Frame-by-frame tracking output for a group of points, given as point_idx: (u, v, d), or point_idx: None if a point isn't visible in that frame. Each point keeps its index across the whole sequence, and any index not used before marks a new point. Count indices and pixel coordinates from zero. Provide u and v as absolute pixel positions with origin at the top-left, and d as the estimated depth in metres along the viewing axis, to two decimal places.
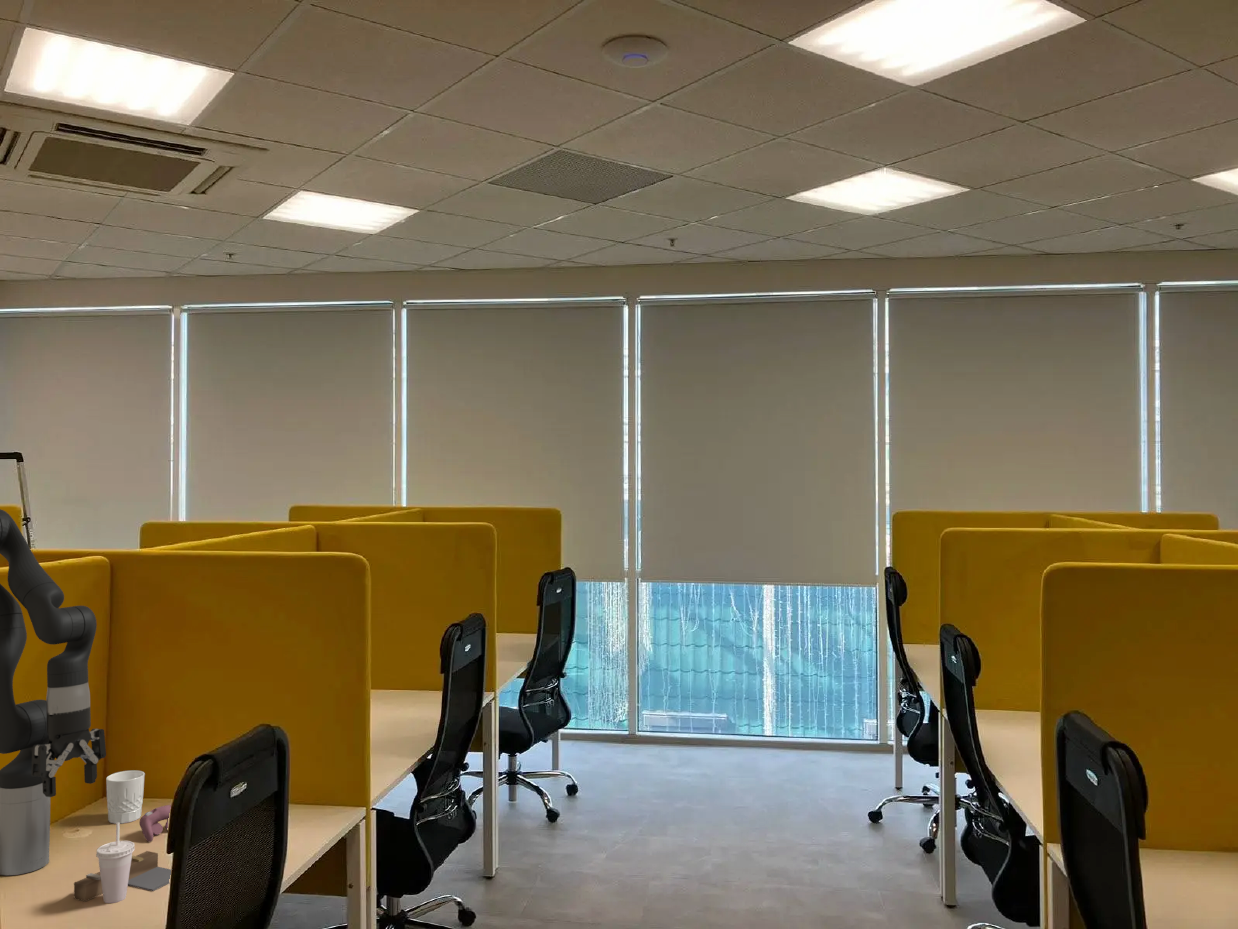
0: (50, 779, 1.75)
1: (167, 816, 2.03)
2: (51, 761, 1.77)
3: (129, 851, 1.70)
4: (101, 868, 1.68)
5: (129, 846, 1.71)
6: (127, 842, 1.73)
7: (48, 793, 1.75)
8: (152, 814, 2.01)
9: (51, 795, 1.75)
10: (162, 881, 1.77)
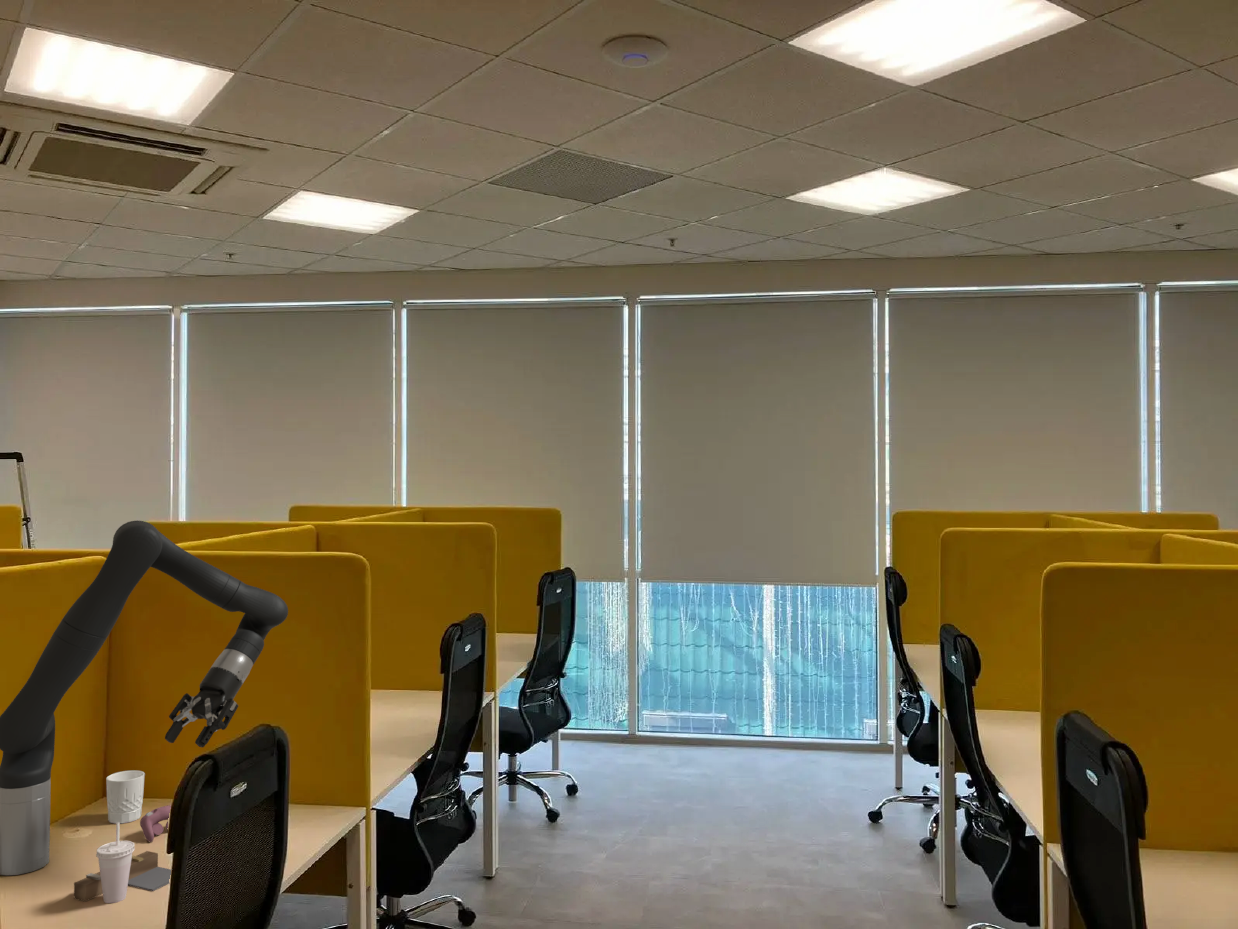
0: None
1: (168, 816, 2.03)
2: (215, 716, 1.88)
3: (129, 851, 1.70)
4: (101, 868, 1.68)
5: (129, 846, 1.71)
6: (127, 842, 1.73)
7: (205, 743, 1.84)
8: (153, 814, 2.00)
9: (203, 746, 1.84)
10: (162, 881, 1.77)
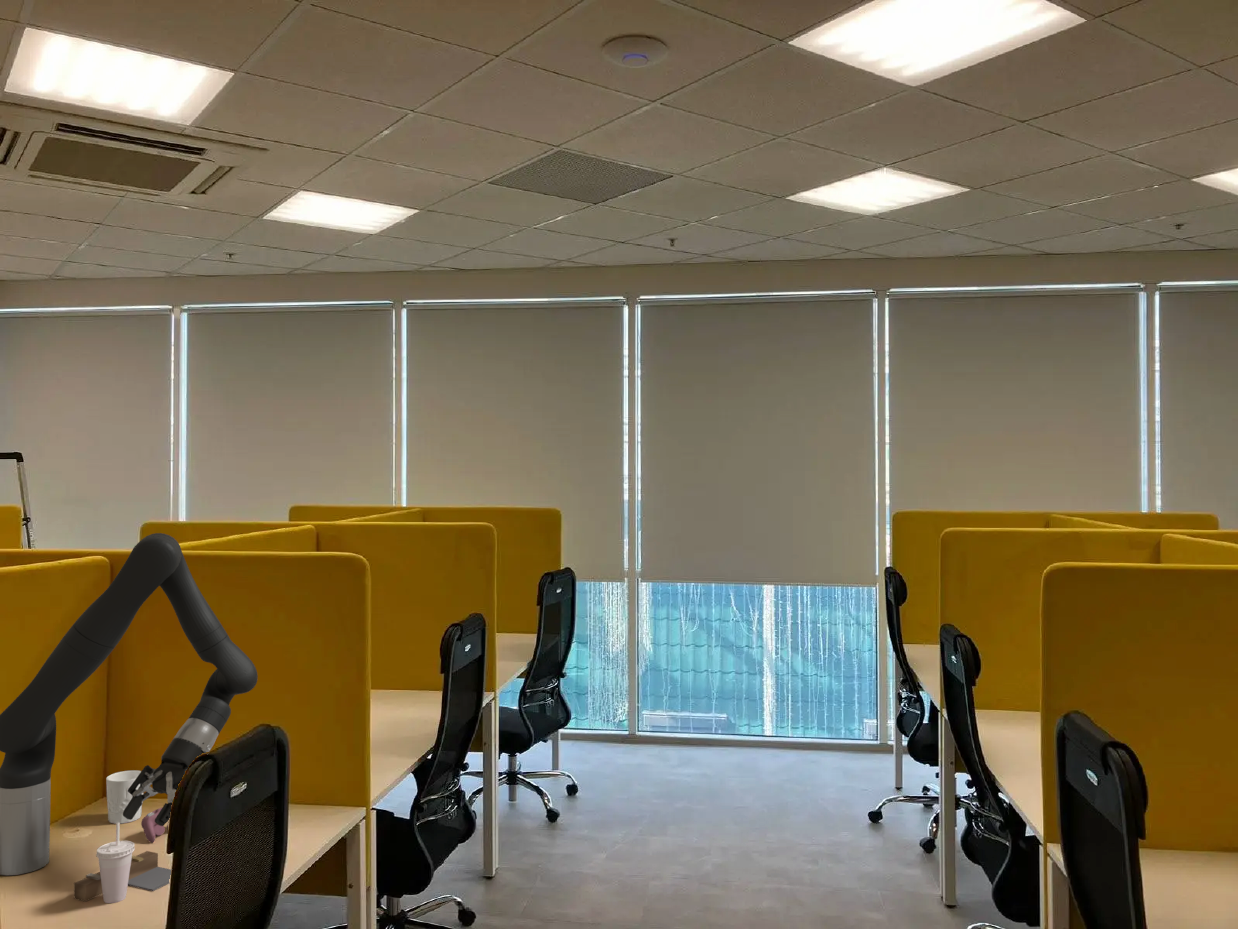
0: None
1: None
2: None
3: (129, 851, 1.70)
4: (101, 868, 1.68)
5: (129, 846, 1.71)
6: (127, 842, 1.73)
7: (166, 822, 1.75)
8: (154, 815, 2.00)
9: (163, 824, 1.75)
10: (162, 881, 1.77)
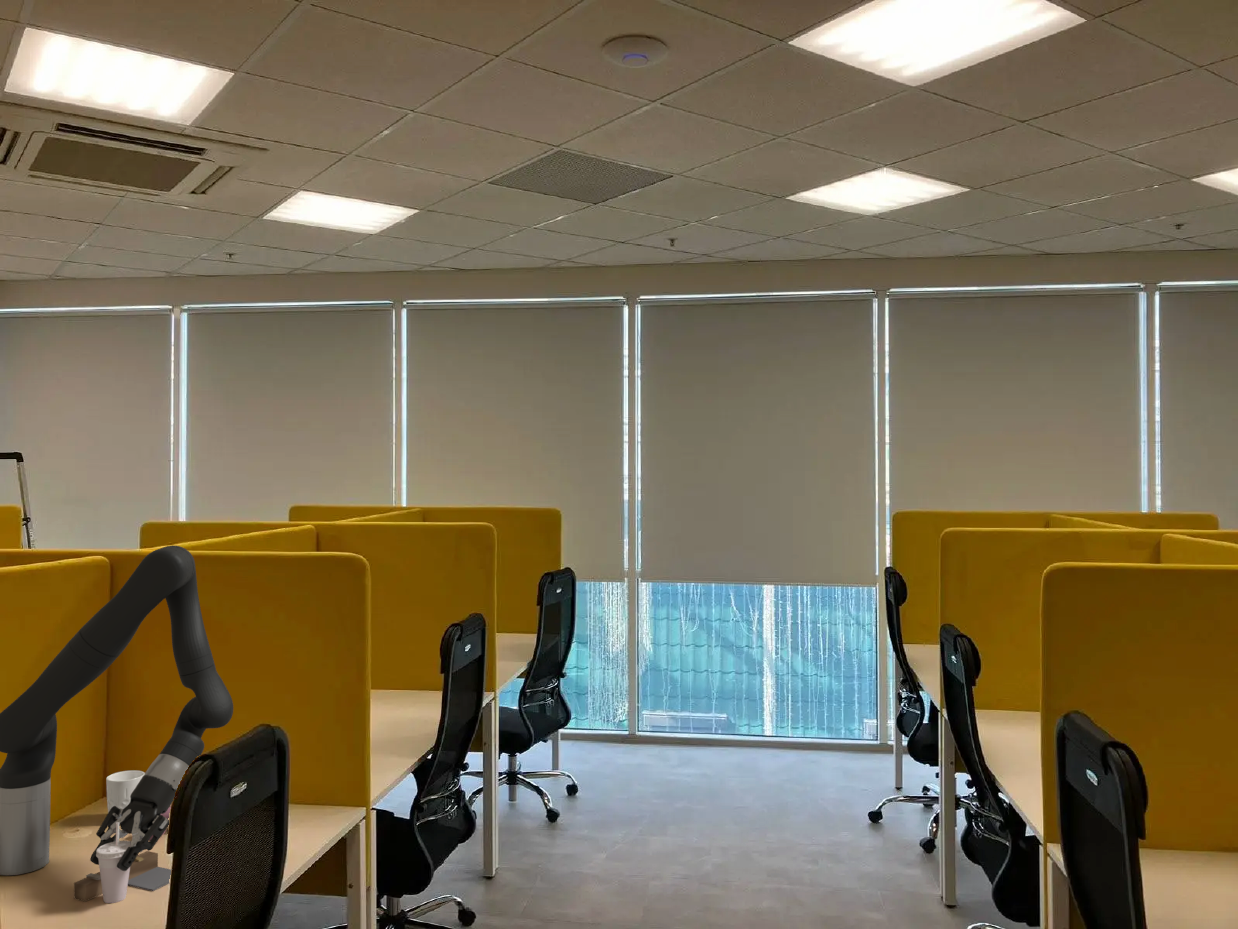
0: None
1: None
2: (143, 834, 1.72)
3: None
4: (101, 868, 1.68)
5: (129, 846, 1.71)
6: (127, 842, 1.73)
7: (128, 866, 1.68)
8: None
9: (125, 869, 1.68)
10: (162, 881, 1.77)
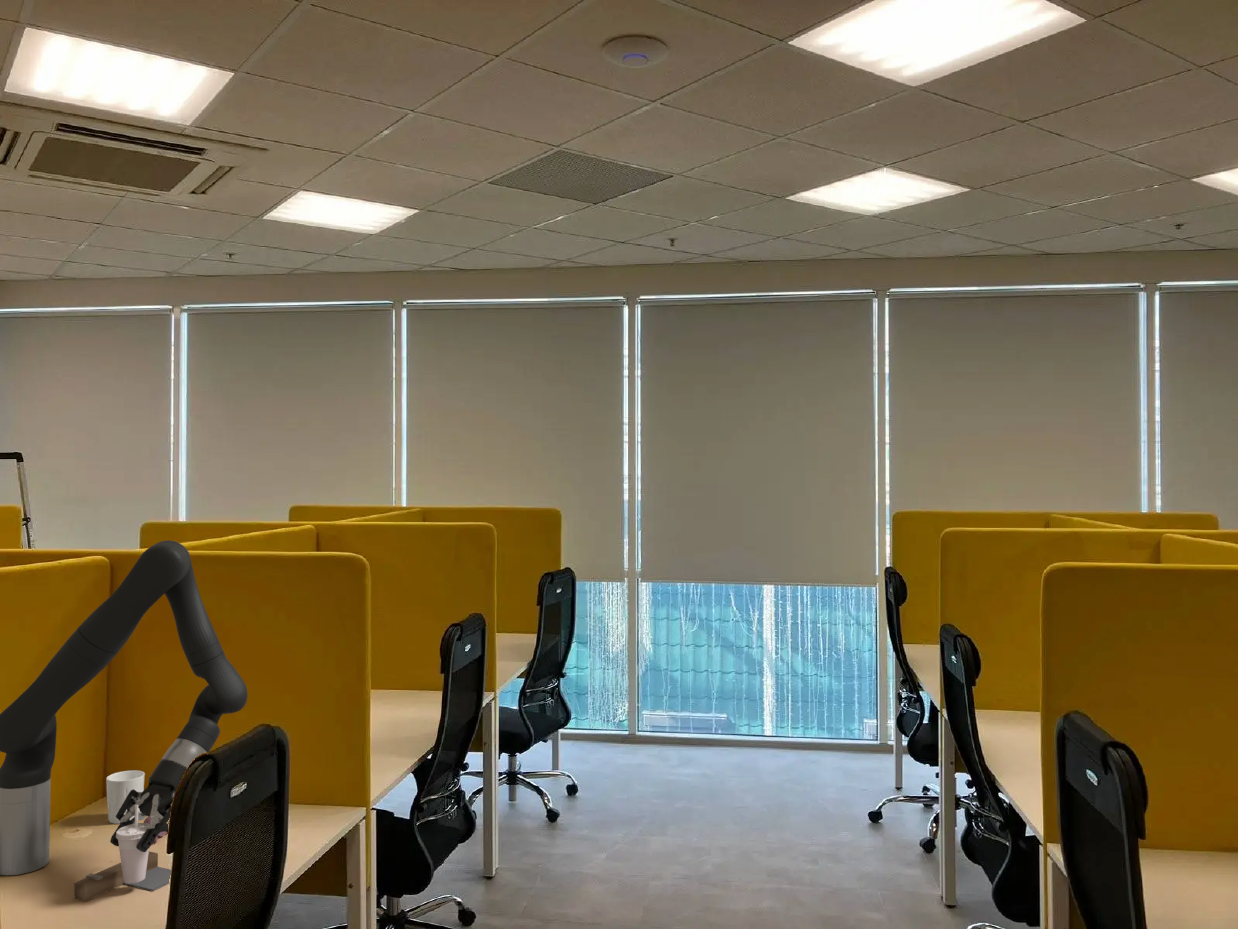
0: None
1: None
2: (161, 816, 1.76)
3: None
4: (121, 849, 1.72)
5: (148, 828, 1.75)
6: (146, 824, 1.77)
7: (148, 848, 1.72)
8: None
9: (145, 850, 1.72)
10: (162, 881, 1.77)
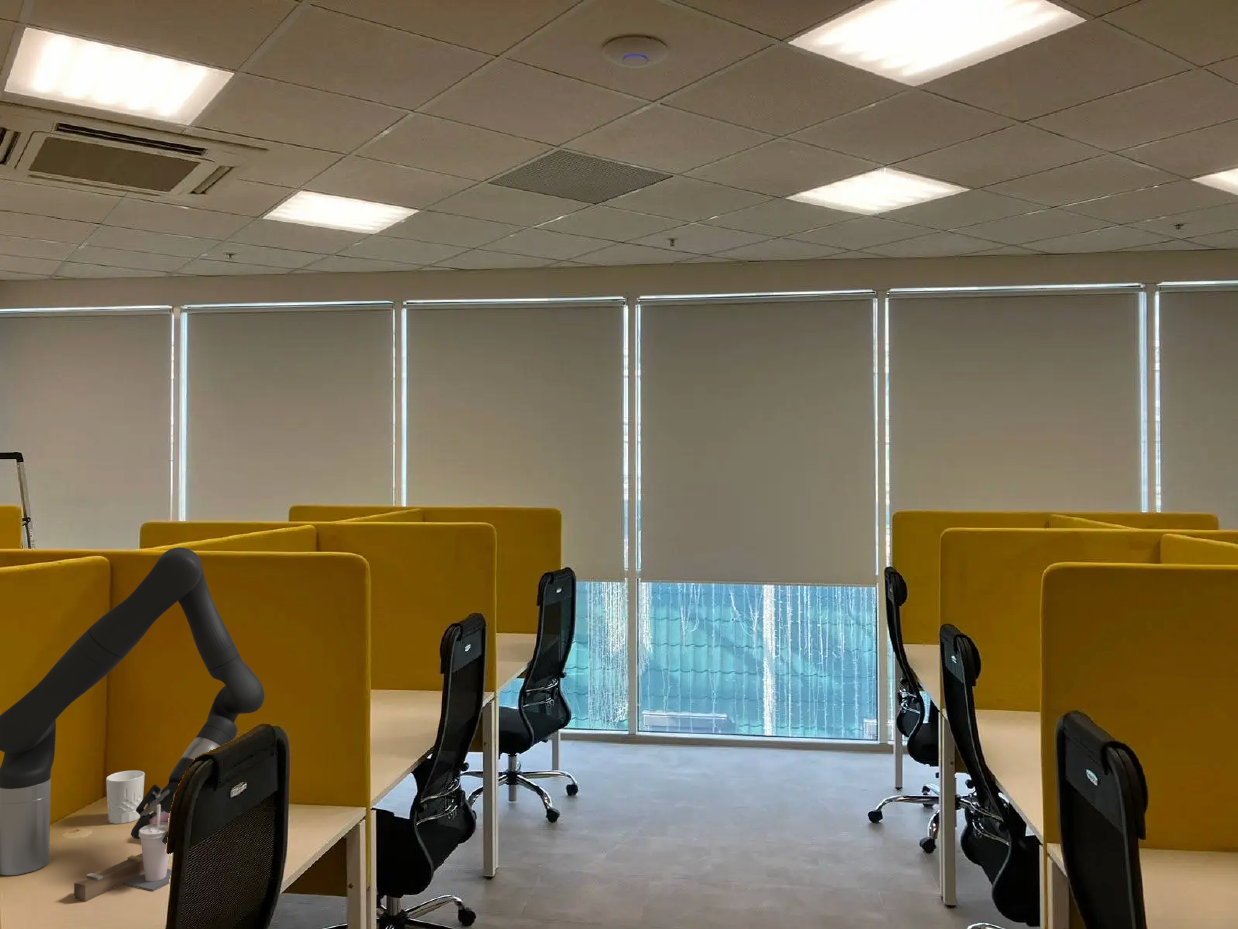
0: None
1: None
2: None
3: None
4: (143, 848, 1.77)
5: None
6: (167, 824, 1.82)
7: None
8: None
9: None
10: (162, 881, 1.77)
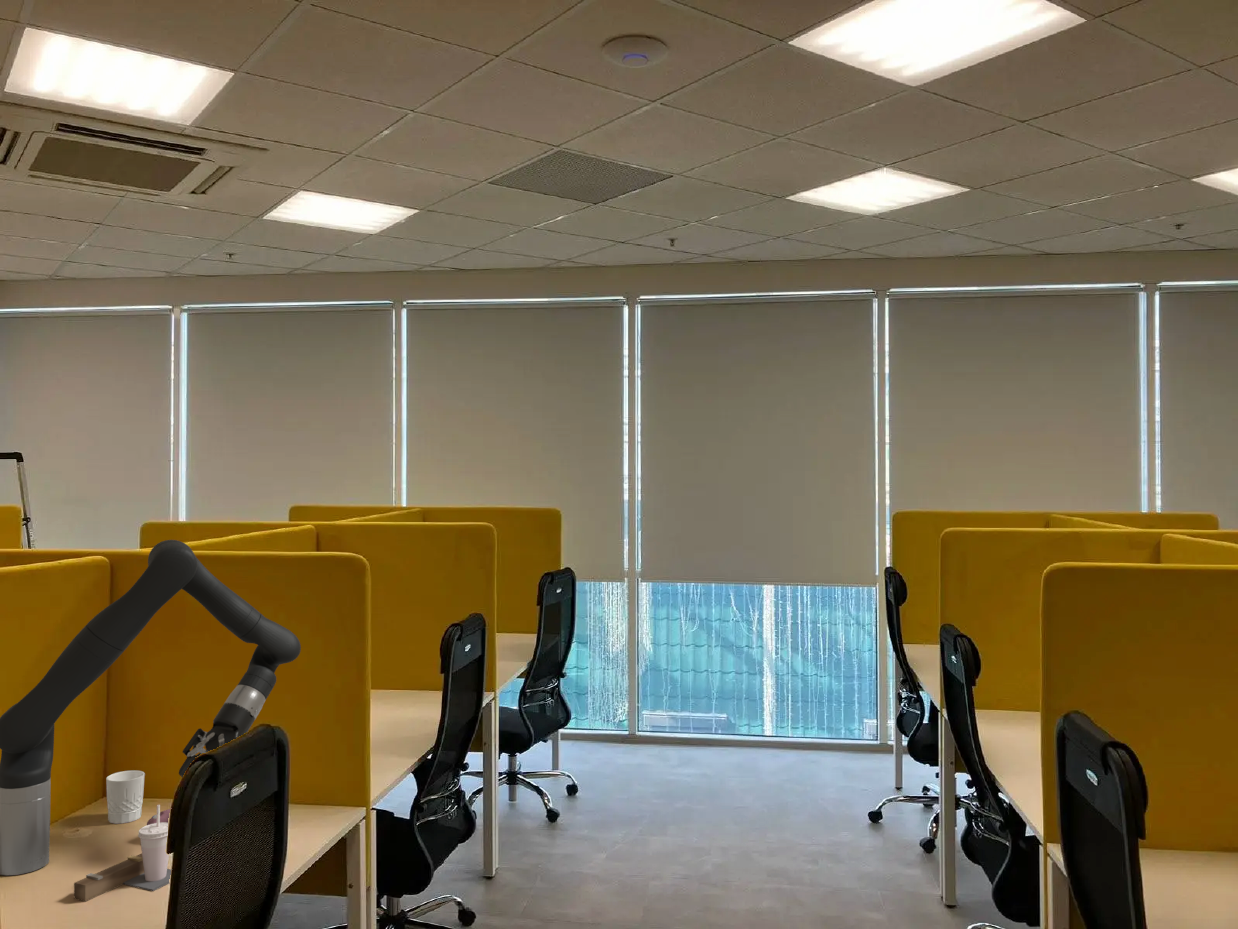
0: None
1: None
2: None
3: None
4: (143, 848, 1.77)
5: None
6: (167, 824, 1.82)
7: None
8: None
9: None
10: (162, 881, 1.77)
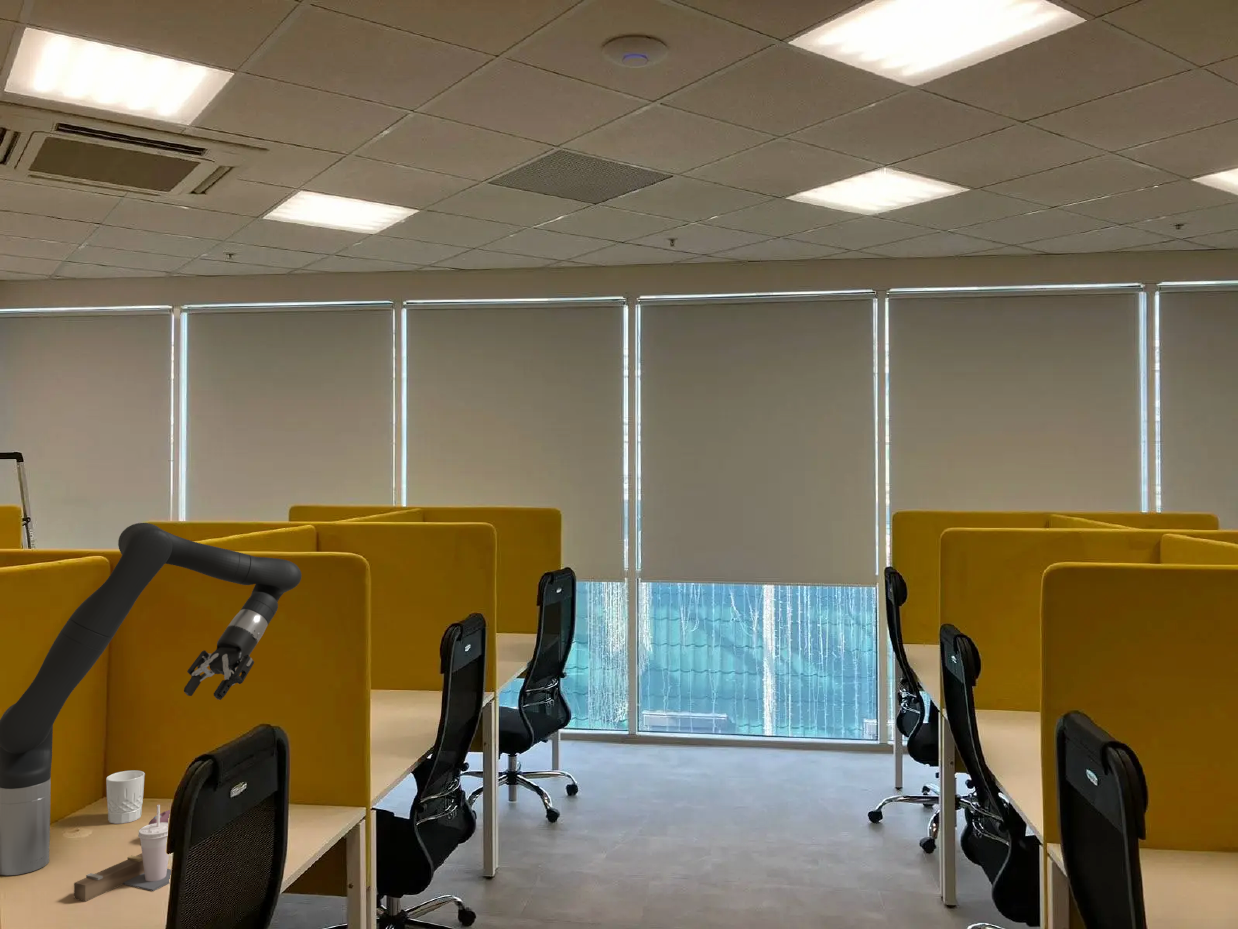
0: None
1: None
2: (232, 671, 1.98)
3: None
4: (143, 848, 1.77)
5: None
6: (167, 824, 1.82)
7: (223, 696, 1.94)
8: (161, 817, 1.99)
9: (220, 698, 1.94)
10: (162, 881, 1.77)
